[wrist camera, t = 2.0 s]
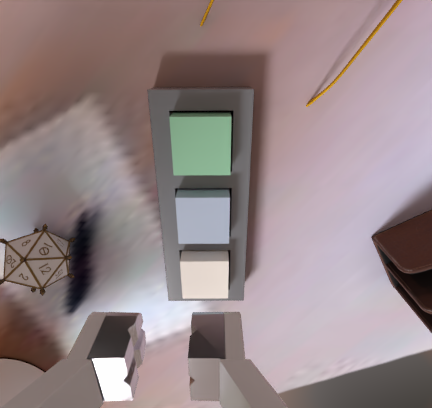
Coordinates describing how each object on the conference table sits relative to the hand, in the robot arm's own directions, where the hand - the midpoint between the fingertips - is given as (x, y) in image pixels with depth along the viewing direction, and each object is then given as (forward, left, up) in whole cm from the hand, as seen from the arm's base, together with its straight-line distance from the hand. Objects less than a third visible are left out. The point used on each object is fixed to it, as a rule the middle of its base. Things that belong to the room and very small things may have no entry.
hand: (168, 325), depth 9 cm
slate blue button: (-9, 0, -25) cm, 27 cm away
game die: (-15, +21, -27) cm, 37 cm away
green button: (0, 0, -25) cm, 25 cm away
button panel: (-9, 0, -27) cm, 28 cm away
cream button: (-17, 0, -25) cm, 30 cm away
